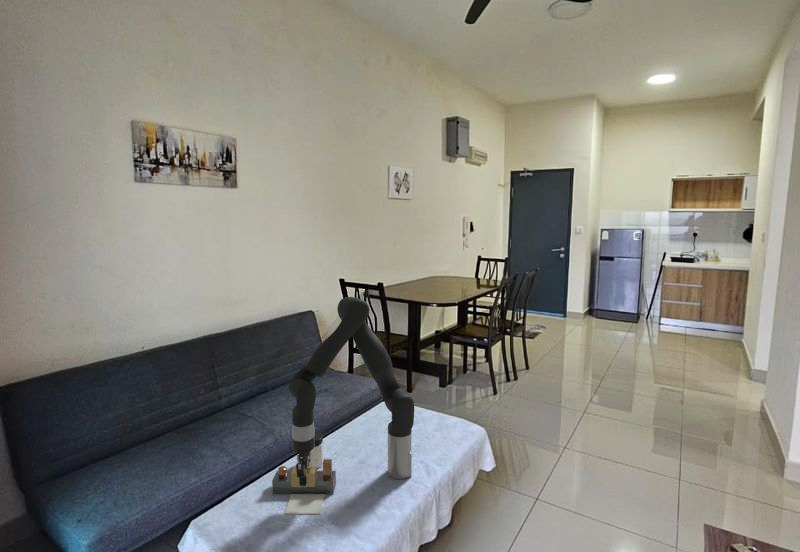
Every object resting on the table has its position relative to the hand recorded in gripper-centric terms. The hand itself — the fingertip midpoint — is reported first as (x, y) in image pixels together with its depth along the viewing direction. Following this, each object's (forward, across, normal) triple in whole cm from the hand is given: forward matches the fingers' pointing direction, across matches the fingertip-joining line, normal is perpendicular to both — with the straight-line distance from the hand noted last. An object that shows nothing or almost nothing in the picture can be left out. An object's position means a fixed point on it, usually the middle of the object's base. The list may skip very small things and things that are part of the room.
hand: (304, 480), depth 154 cm
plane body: (+9, +9, +2) cm, 13 cm away
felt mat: (+9, 0, 0) cm, 9 cm away
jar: (+9, +25, +2) cm, 27 cm away
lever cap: (+1, 0, 0) cm, 1 cm away
